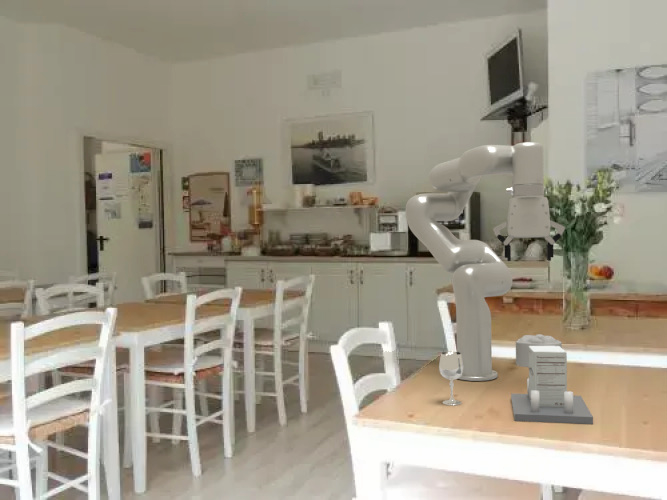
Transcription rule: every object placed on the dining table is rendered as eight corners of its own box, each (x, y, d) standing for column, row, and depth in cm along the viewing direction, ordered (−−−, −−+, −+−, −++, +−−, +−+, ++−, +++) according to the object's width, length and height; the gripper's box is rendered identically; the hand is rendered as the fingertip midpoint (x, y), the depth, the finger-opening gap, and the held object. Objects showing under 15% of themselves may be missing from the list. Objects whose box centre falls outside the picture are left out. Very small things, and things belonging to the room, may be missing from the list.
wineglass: (465, 400, 162) (465, 351, 162) (462, 406, 157) (461, 356, 157) (441, 399, 164) (441, 350, 164) (437, 405, 159) (437, 355, 158)
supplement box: (528, 398, 157) (527, 345, 157) (561, 399, 156) (560, 345, 156) (533, 407, 150) (532, 351, 149) (567, 407, 149) (567, 351, 148)
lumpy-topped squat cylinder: (520, 359, 210) (519, 332, 209) (563, 362, 204) (563, 334, 204) (514, 366, 200) (514, 337, 200) (559, 369, 195) (559, 340, 195)
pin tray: (514, 420, 145) (514, 393, 145) (511, 399, 162) (510, 375, 162) (593, 424, 141) (592, 396, 141) (580, 401, 159) (580, 377, 159)
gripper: (492, 192, 166) (493, 261, 166) (566, 190, 162) (566, 261, 162) (492, 194, 173) (493, 260, 174) (562, 192, 169) (563, 259, 170)
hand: (528, 260), depth 168 cm, fingers open, 9 cm apart
